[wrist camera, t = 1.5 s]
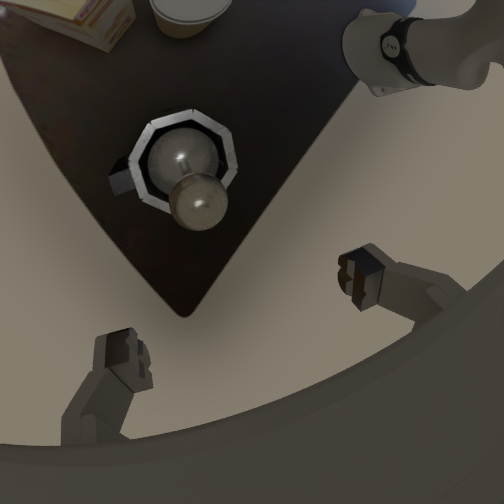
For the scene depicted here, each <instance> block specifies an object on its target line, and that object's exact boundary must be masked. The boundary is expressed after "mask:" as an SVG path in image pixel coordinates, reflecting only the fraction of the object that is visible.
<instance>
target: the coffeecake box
mask: <svg viewBox="0 0 504 504" xmlns="http://www.w3.org/2000/svg"><path fill="white" fill-rule="evenodd" d="M0 5H1V6H3V7H5V8H7V9H9V10H11V11H13V12H15V13H17V14H19V15H21V16H23V17H25V18H27V19H29V20H31V21H33V22H35V23H37V24H38V25H40V26H42V27H45V28H48V29H50V30H53V31H56V32H59V33H61V34H64V35H66V36H69V37H72V38H74V39H76V40H79V41H81V42H84V43H86V44H89V45H91V46H93V47H96V48H98V49H100V50H103V51H105V52H107V53H110V51H111V50H112V49H113V47H114V46H115V45H116V43H117V42H118V41H119V39H120V38H121V37H122V35H123V34H124V33H125V32H126V30H127V29H128V28H129V27H130V25H131V24H132V23H133V22H134V21H135V19H136V18H137V17H136V14H135V11H134V7H133V3H132V0H0Z"/></svg>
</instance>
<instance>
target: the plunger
mask: <svg viewBox="0 0 504 504" xmlns="http://www.w3.org/2000/svg"><path fill="white" fill-rule="evenodd" d="M218 163H219V158H218V152H217V149H216V147H215V145H214V143H213V142H212V140H211V139H210V138H209V137H208V136H207V135H205V134H204V133H202V132H201V131H199V130H196V129H193V128H185V127H183V128H176V129H173V130H170V131H168V132H166V133H165V134H163V135H162V136H161V137H159V138H158V139H157V141H156V142H155V143H154V145H153V146H152V148H151V150H150V153H149V158H148V171H149V175H150V177H151V180H152V181H153V183H154V184H155V185H156V187H158V188H159V189H160V190H161V191H162V192H164V193H166V194H169V208H170V212H171V214H172V216H173V218H174V219H175V220H176V222H177V223H178V224H180V225H181V226H182V227H184V228H186V229H189V230H193V231H202V230H207V229H209V228H212V227H213V226H215V225H216V224H217V223H219V222H220V220H221V219H222V218H223V216H224V215H225V213H226V210H227V206H228V196H227V192H226V189H225V187H224V185H223V184H222V182H221V181H220V180H219V179H218V178H216V177H215V175H216V172H217V169H218Z"/></svg>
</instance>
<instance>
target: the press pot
mask: <svg viewBox="0 0 504 504" xmlns="http://www.w3.org/2000/svg"><path fill="white" fill-rule="evenodd" d="M183 127H185V128H193V129H196V130H199V131H201V132H202V133H204V134H205V135H207V136H208V137H209V138H210V139H211V140H212V142H213V143H214V145H215V147H216V149H217V152H218V158H219V163H218V169H217V172H216V175H215V177H216V178H218V179H219V180H220V181H221V182H222V184H223V185H224V187H225V189H227V187H228V185H229V184H230V182H231V181H232V179H233V178H234V176H235V175H236V173H237V172H238V171H237V170H235V169H238V166H237V161H236V156H235V151H234V146H233V141H232V136H231V132H230V131H228V130H229V129H228V128H226V127H224V126H223V125H221V124H219V123H218V122H216V121H214V120H213V119H211V118H209V117H207V116H206V115H204V114H202V113H201V112H199V111H197V110H195V109H192V108H187V107H179V108H174V109H168V110H165V111H163V112H161V113H158V114H155V115H153V117H151V119H150V120H149V122H148V123H147V125H146V126H145V128H144V130H143V132H142V134H141V136H140V138H139V140H138V141H137V143H136V145H135V147H134V149H133V151H132V153H131V155H128V156H126V157H123V158H121V159H118V161H117V162H116V164H115V166H114V167H113V169H112V170H111V172H110V174H109V175H108V179H109V181H110V184H111V187H112V190H113V192H114V195H115V196H116V195H118V194H121V193H124V192H127V191H130V190H132V189H135V188H136V189H137V191H138V194H139V197H140V199H141V198H142V201H143V202H145V203H147V204H150V205H152V206H154V207H156V208H159V209H161V210H163V211H165V212H167V213H170V214H171V212H170V208H169V194H166V193H164V192H162V191H161V190H160V189H159V188H158V187H156V185H155V184H154V183H153V181H152V180H151V177H150V175H149V171H148V158H149V153H150V150H151V148H152V146H153V145H154V143H155V142H156V141H157V139H158V138H159V137H161V136H162V135H163V134H165V133H166V132H168V131H170V130H173V129H176V128H183Z"/></svg>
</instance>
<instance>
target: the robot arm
mask: <svg viewBox="0 0 504 504" xmlns="http://www.w3.org/2000/svg"><path fill="white" fill-rule="evenodd" d="M342 47H343V53H344V56H345V59H346V61H347V64H348V65H349V67H350V69H351V70H352V72H353V73H354V74H355V75H356V76H357V77H358V78H359V79H360V80H362V81H363V82H364V83H366V85H368V87H369V89H370V91H371V92H372V94H373V95H374V96H376V97H378V96H379V97H380V96H384V95H388V94H391V93H395V92H399V91H403V90H407V89H411V88H415V87H419V86H421V85H423V86H435V85H443V86H448V87H453V88H458V89H463V90H473V89H476V88H478V87H480V86H481V85H482V84H483V83H484V81H485V79H486V77H487V74H488V71H489V65H490V62H496V63H499V64H501V65H502V66H503V68H504V0H476V2H475V4H474V5H473V6H472V7H471V9H469V10H468V11H467V12H465V13H464V14H462V15H460V16H457V17H452V18H442V19H426V20H425V19H423V18H414V17H407V18H403V17H402V16H401V15H396V13H393V12H388V13H377V12H375V11H373V10H370V9H367V8H366V9H362V10H361V11H360V12H359V15H358V17H357V18H356V19H355V20H353V21H352V22H350V23H349V24H348V26H347V27H346V29H345V31H344V34H343V39H342ZM381 89H382V90H381ZM338 265H339V266H340V267H341V268H340V270H339V272H338V282H339V285H340V287H341V289H342V290H343V292H344V293H345V294H346V295H349V296H352V302H353V303H354V305H355V306H356V307H357V308H358V309H359V310H360V312H361V311H363V310H366V309H368V308H370V307H372V306H374V305H376V304H378V305H379V306H381V307H384V308H386V309H388V310H390V311H393V312H395V313H397V314H399V315H402V316H404V317H406V318H408V319H410V320H413V321H415V324H414V326H413V329H412V332H410V333H409V334H407V335H406V336H404V337H402V338H401V339H399V340H397V341H396V342H394V343H393V344H391V345H389V346H388V347H386V348H384V349H382V350H381V351H379V352H377V353H375V354H374V355H372V356H370V357H368V358H366V359H364V360H363V361H361V362H359V363H357V364H355V365H353V366H351V367H349V368H347V369H345V370H343V371H341V372H340V373H337V374H336V375H333V376H331V377H329V378H327V379H325V380H323V381H321V382H319V383H316V384H314V385H312V386H310V387H307V388H305V389H303V390H300V391H298V392H296V393H293V394H291V395H288V396H286V397H283V398H281V399H278V400H276V401H273V402H270V403H268V404H265V405H262V406H260V407H257V408H254V409H251V410H248V411H245V412H242V413H240V414H236V415H233V416H230V417H227V418H223V419H220V420H217V421H213V422H210V423H206V424H202V425H199V426H195V427H191V428H187V429H182V430H178V431H174V432H169V433H164V434H159V435H155V436H149V437H143V438H138V439H131V440H130V439H129V438H127V437H125V436H124V435H122V434H121V433H119V432H120V430H121V427H122V424H123V422H124V419H125V417H126V414H127V411H128V409H129V406H130V404H131V401H132V399H133V396H134V394H133V393H137V392H140V391H144V390H148V389H152V388H153V382H152V373H151V372H150V371H149V370H148V368H149V366H150V364H151V362H150V356H149V353H148V350H147V348H146V346H145V344H144V343H143V341H141V340H139V339H137V333H136V331H135V330H134V328H131V327H130V328H126V329H123V330H119V331H115V332H111V333H108V334H105V335H101V336H97V338H96V339H95V347H94V358H93V371H91V372H89V373H88V375H87V376H86V378H85V380H84V381H83V383H82V384H81V386H80V388H79V389H78V391H77V392H76V394H75V395H74V397H73V399H72V400H71V402H70V404H69V405H68V407H67V409H66V410H65V412H64V414H63V416H62V420H61V446H26V445H11V444H0V504H504V260H503V261H502V262H501V263H500V264H499V265H497V267H495V268H494V269H493V270H492V271H491V272H490V273H489V274H487V275H486V276H485V277H484V278H483V279H482V280H481V281H479V282H478V283H477V284H476V285H475V286H473V287H472V288H471V289H470V290H468V291H466V290H465V289H464V288H463V287H461V286H460V285H459V284H458V283H457V282H455V281H454V280H453V279H452V278H451V277H450V276H448V275H446V274H443V273H439V272H435V271H431V270H428V269H424V268H421V267H417V266H413V265H409V264H406V263H401V262H398V263H396V262H395V261H393V260H392V259H391V258H390V257H389V256H388V255H386V254H385V253H384V252H383V251H381V250H380V249H379V248H378V247H377V246H375V245H374V244H372V243H369V244H366V245H364V246H361V247H360V248H357V249H354V250H353V251H350V252H347V253H345V254H342V255H340V256H339V258H338Z"/></svg>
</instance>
